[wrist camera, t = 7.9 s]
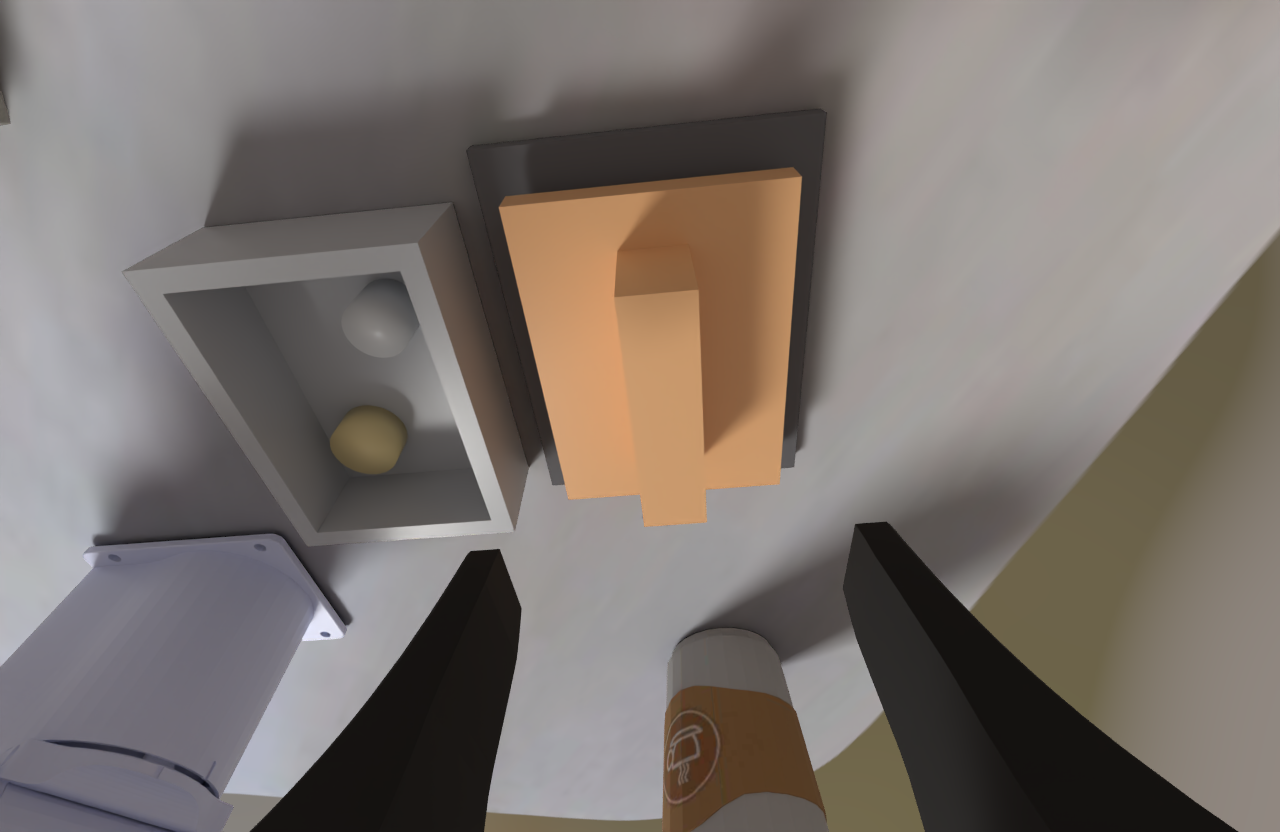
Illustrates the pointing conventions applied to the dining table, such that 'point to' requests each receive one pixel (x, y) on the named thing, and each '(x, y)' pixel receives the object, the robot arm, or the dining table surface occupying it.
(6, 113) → the grey rock
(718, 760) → the coffee cup
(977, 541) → the dining table surface
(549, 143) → the mat
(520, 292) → the lid
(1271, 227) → the dining table surface
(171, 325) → the parts tub
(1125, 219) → the dining table surface
